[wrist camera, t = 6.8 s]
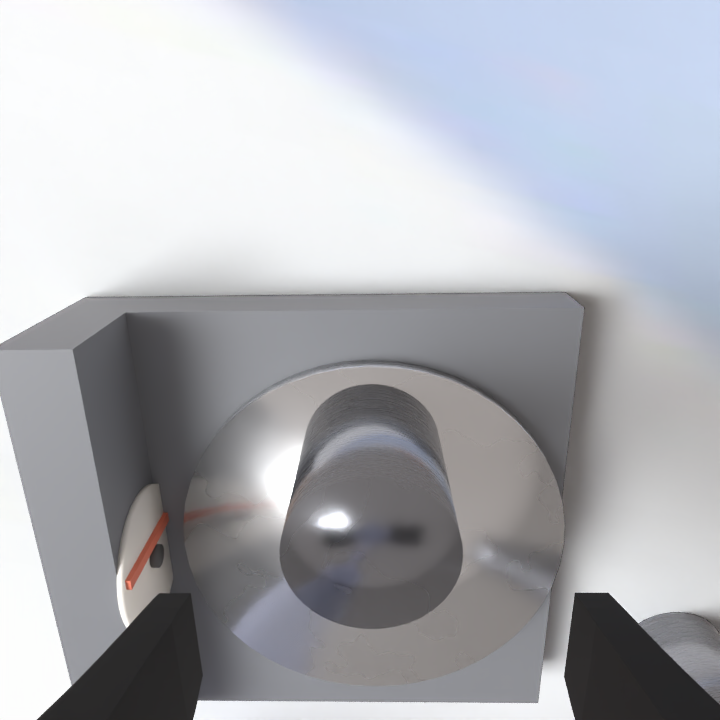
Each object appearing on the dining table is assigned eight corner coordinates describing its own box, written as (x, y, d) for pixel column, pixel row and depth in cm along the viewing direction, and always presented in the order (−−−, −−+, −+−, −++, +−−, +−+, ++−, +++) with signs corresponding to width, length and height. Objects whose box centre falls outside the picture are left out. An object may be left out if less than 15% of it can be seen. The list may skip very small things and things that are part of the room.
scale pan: (541, 672, 21) (546, 687, 21) (209, 670, 22) (204, 685, 21) (578, 358, 17) (585, 365, 17) (166, 361, 18) (159, 369, 17)
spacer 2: (710, 691, 24) (792, 825, 19) (610, 690, 24) (667, 823, 19) (730, 612, 23) (823, 735, 18) (623, 611, 23) (688, 734, 18)
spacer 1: (439, 501, 18) (462, 627, 14) (309, 505, 18) (288, 630, 14) (439, 381, 17) (464, 474, 12) (299, 386, 17) (270, 481, 12)
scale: (526, 662, 24) (565, 798, 19) (150, 660, 24) (94, 793, 19) (565, 292, 18) (633, 347, 14) (84, 297, 19) (-16, 353, 14)
